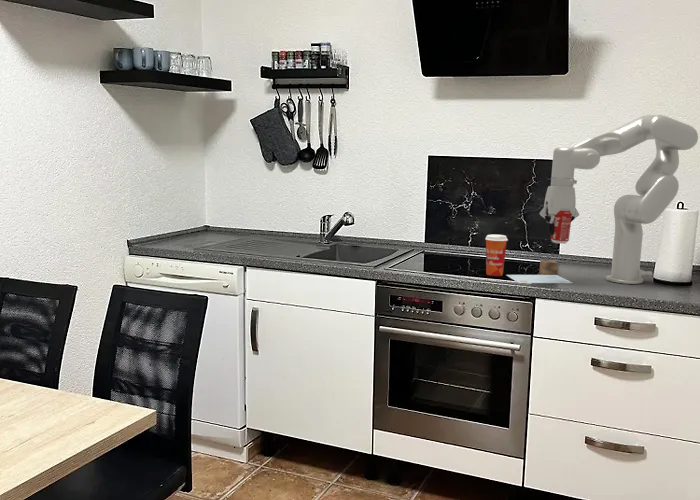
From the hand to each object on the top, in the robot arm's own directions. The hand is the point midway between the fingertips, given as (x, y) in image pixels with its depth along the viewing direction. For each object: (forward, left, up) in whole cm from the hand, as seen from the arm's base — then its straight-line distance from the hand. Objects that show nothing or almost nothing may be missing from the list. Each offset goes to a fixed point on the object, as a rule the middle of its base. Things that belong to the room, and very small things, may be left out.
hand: (557, 233), depth 247 cm
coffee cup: (+18, -13, -18) cm, 29 cm away
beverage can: (-1, 0, -3) cm, 3 cm away
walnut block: (-4, -16, -18) cm, 25 cm away
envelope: (+4, -5, -18) cm, 19 cm away
